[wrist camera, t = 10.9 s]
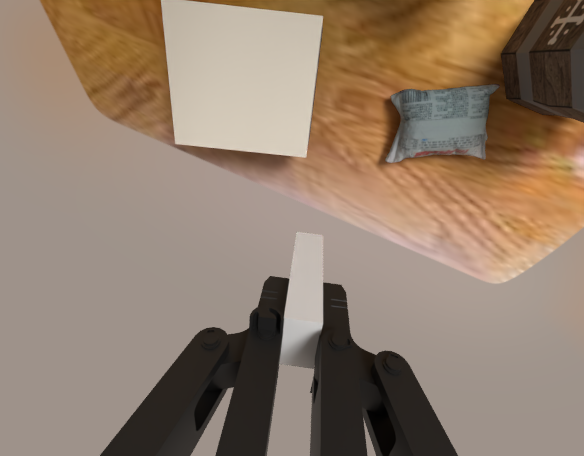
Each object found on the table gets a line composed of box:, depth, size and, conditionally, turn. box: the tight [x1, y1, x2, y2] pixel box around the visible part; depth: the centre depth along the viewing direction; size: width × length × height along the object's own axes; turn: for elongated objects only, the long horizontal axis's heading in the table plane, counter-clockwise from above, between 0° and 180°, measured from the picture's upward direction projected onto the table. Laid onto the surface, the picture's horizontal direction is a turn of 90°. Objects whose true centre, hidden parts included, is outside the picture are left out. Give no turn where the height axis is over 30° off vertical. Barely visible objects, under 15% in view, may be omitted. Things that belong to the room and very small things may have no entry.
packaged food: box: [385, 84, 500, 163], centre depth 36 cm, size 9×12×5 cm
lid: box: [161, 0, 323, 158], centre depth 29 cm, size 13×14×1 cm
